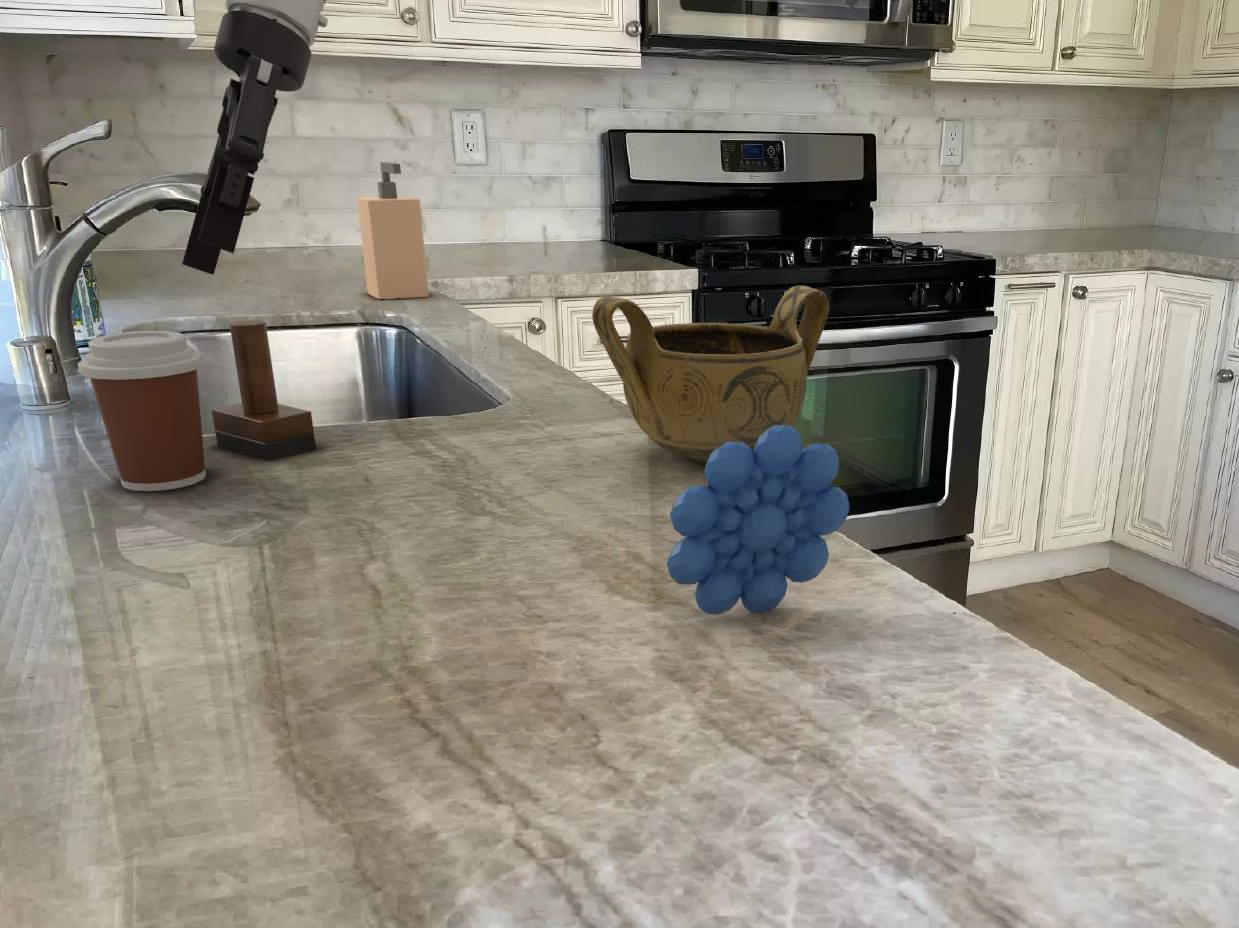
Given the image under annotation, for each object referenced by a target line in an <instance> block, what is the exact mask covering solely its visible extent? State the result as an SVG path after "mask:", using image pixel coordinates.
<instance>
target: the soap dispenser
mask: <svg viewBox="0 0 1239 928" xmlns="http://www.w3.org/2000/svg"><path fill="white" fill-rule="evenodd" d="M379 164H380V173H381V181H377V182H376V183H377V192H378V196H363V197H362V196H361V197H359V196H357V197H356V202H357V211H358V219H359V229H360V235H361V237H360V238H361V245H362V246H361V247H362V254H363V262H364V271H365V280H366V288H367V294H368V295H370V296H372V297H374V298H375V299H377V298H378V299H377V300H379V299H385V300H398V299H397V298H401V299H416V298H429V297H430V293H429V284H428V283H429V282H428V272H427V261H426V260H427V259H426V250H425V241H424V240H425V239H424V231H423V218H422V209H421V200H420V198H416V197H411V196H407V195H406V196H405V195H404V196H403V195H402V196H401V195H400V196H398V193H397V184H396V182H395V181H391V175H390V174H394V175H401V174H402V169H401V168H402V167H401V164H400V163H396V162H389V161H379Z"/></svg>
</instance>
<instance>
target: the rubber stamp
mask: <svg viewBox="0 0 1239 928" xmlns="http://www.w3.org/2000/svg"><path fill="white" fill-rule="evenodd" d="M229 328H230V329H229V331H230V336H231V343H232V351H233V356H234V362H235V368H236V373H237V375H236V376H237V380H238V381H237V382H238V386H239V392H240V399H241V403H237V404H231V405H226V406H222V407H216V408H212V409H211V416H212V421H213V427H214V432H215V433H214V435H215V439H216V445H217V448H221V449H225V450H228V451H232V452H234V453H239V454H242V455H245V456H250V457H253V458H257V459H260V460H264V461H268V462H270V461H273V460H278V459H281V458H285V457H291V456H293V455H298V454H301V453H305V452H310V451H313V450H316V449H317V445H316V439H315V432H314V431H315V430H314V424H313V423H314V421H313V417H312V411H310V410H306V409H303V408H298V407H294V406H293V407H292V406H289V405H284V404H280V403H279V402H278V397H277V395H278V394H277V390H276V383H275V376H274V369H273V361H272V356H271V355H272V354H271V349H270V342H269V335H268V329H267V322H266V320H261V319H260V320H258V319H249V320H248V319H247V320H237V321H233V322H231V323H229Z"/></svg>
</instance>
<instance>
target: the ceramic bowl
mask: <svg viewBox="0 0 1239 928" xmlns="http://www.w3.org/2000/svg"><path fill="white" fill-rule="evenodd" d="M804 305H805V306H804ZM803 307H804V309H803V312H802V316H801V319H800V323H799V324H798V321H797V319H798V317H799V313H800V311H801V310H802V308H803ZM617 309H619V310H620V311H621V313H622V314H623V315H624V317H625V319H626V321H627V323H628V325H629V327H630V329H629V330H630V333H628V334H627V337H626V344H624V343H623V341H622V339H621V336H620V335H619V333H618V331H617V328H616V326H615V324H614V321H613V316H614V313H615V312H616V310H617ZM829 313H830V301H829V299H828V297H827V296H826V293H824V292H823V291H822V290H819V289H816V288H813V287H811V286H806V285H795V286H794V285H793V286H792V287H790V288H789V289H788V290H787V291H786V292H785V293H784V294H783V295H782V297H781V298H780V300H779V302H778V304H777V306H776V307H775V310H774V312H773V315H772V316H773V317H772V320H771V322H770V324H769V325H768V326H764V325H755V324H746V323H728V322H688V323H687V322H686V323H671V324H669V323H668V324H660V325H654V326H653V325H652V323H651V321H650V319H649V317H648V315H647V314H646V313H645V311H644V310H642V308H641V307H640V306H639V304H637V303H636V302H635V301H633V300H630V299H627V298H623V297H616V296H609V295H605V296H602V297H599V298H598V299H597V300H596V301H595V303H594V306H593V308H592V313H591V314H592V315H591V317H592V322H593V326H594V329H595V332H596V334H597V335H598V337H599V339H600V341H601V344H602V345H603V347H604V349H605V351H606V353H607V355H608V357H609V359H610V361H611V363H612V366H613V367H614V369H615V371H616V373H617V374H618V376H619V378H620V380H621V382H622V386H623V387H622V388H623V392H624V393H623V394H624V396H625V401H626V404H627V407H628V410H629V411H630V414H631V416H632V417H633V419H634V421H635V422H636V424H637V425H638V427H639V428H640V429H641V430H642V431H643V433H644V434H645V435H647V436H648V438H649V439H650V440H651V441H653V442H654V443H655V444H657V445H658V446H659V447H661V448H662V449H664V450H666V451H667V452H669V453H670V454H672V455H675V456H678V457H680V458H682V459H685V460H687V461H691V462H694V463H700V464H706V463H707V460H708V459H709V457H710V455H711V453H712V452H713V451H714V450H715V449H716V448H717V447H719V446H721V445H722V444H724V443H726V442H743V443H745V444H746V445H747V446H748V447H750V448H751V451H752V454H753V450H754V447H755V444H756V442H757V440H758V439H759V437H760V436H761V435H762V434H763V433H764V432H765V431H766V430H768V429H769V428H771V427H773V426H775V425H786V426H792V427H794V425H795V423H796V421H797V419H798V417H799V415H800V413H801V410H802V407H803V405H804V403H805V399H806V393H807V383H808V373H809V371H810V368H811V365H812V362H813V359H814V356H815V354H816V351H817V348H818V345H819V342H820V341H821V337H822V334H823V331H824V328H825V326H826V323H827V320H828V316H829Z"/></svg>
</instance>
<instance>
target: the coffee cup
mask: <svg viewBox="0 0 1239 928" xmlns="http://www.w3.org/2000/svg"><path fill="white" fill-rule="evenodd" d="M87 344H88V349H89V352H88V353H87V354H85V356H84V358H83V359H81V360H80V361H79V362H78V363H77V369H78V373H79V374H80V375H81V376H82V377H84V378H89V379H90V382H91V387H92V389H93V392H94V395H95V400H96V402H97V405H98V409H99V412H100V417H101V419H102V422H103V425H104V430H105V432H106V435H107V439H108V442H109V445H110V449H111V453H112V455H113V459H114V462H115V465H116V468H117V471H118V475H119V479H120V483H121V485H122V487H123V488H124V489H126V490H131V491H135V492H136V491H137V492H157V491H159V492H160V491H168V490H174V489H180V488H185V487H188V486H192V485H195V484H198V483H199V482H201V481H203V480H205V478H206V476H207V472H206V465H205V453H204V441H203V439H204V438H203V428H202V416H201V404H200V392H199V381H198V369H201V368H202V367H203V366H204V365H205V359H204V355H203V354H202V353H201V352H199V351H197V350H195V349H194V348H193V347H192V346H191V345H189V344H188V340H187V336H186V335H184V334H183V333H181V332H178V331H172V330H137V331H135V330H134V331H125V332H117V333H111V334H110V333H109V334H104V335H101V336H96V337H94V338H92V339H91V340H90V341H88V343H87Z"/></svg>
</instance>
